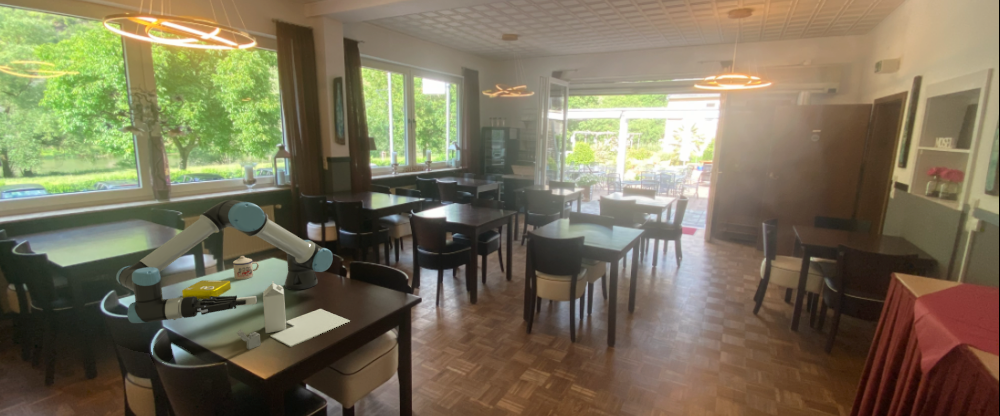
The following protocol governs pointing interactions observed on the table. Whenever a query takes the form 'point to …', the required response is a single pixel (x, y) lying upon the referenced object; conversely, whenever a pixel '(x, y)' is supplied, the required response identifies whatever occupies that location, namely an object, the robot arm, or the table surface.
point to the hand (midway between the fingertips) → (256, 299)
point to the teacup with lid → (243, 268)
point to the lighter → (250, 339)
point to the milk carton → (274, 308)
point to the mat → (308, 327)
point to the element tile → (206, 289)
